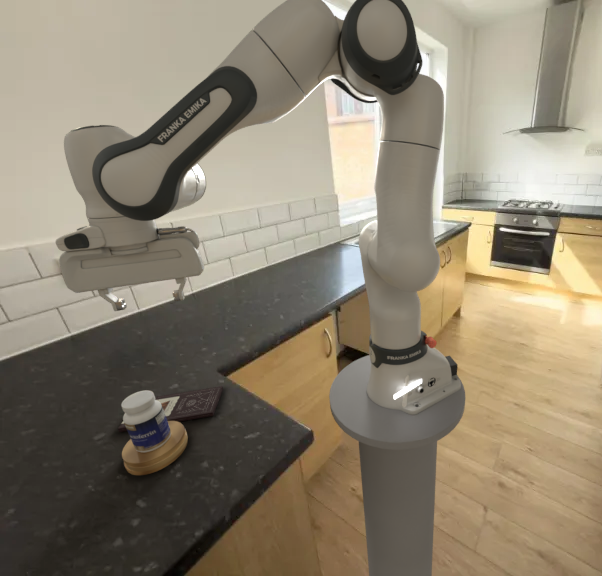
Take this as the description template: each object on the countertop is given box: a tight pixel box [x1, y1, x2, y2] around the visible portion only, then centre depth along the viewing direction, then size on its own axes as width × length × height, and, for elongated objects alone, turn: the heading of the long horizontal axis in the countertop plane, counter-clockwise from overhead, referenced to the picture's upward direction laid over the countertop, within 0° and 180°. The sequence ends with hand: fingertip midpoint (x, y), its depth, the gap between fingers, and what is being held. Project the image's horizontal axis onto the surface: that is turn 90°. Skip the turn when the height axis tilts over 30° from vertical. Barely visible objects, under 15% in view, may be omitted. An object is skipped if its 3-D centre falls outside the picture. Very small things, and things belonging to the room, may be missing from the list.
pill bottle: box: [120, 389, 171, 453], centre depth 58 cm, size 6×6×10 cm
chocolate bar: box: [117, 385, 224, 433], centre depth 71 cm, size 9×1×18 cm
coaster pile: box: [121, 421, 189, 476], centre depth 60 cm, size 10×10×3 cm
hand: (151, 304), depth 60 cm, fingers open, 8 cm apart
